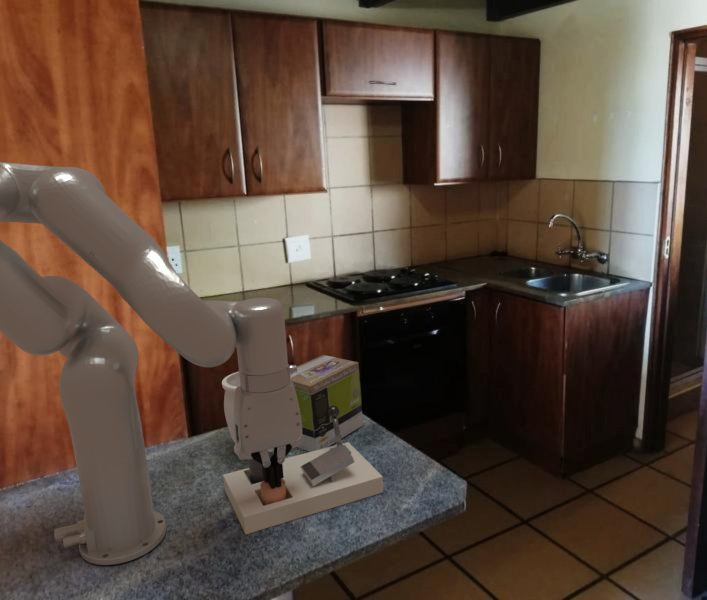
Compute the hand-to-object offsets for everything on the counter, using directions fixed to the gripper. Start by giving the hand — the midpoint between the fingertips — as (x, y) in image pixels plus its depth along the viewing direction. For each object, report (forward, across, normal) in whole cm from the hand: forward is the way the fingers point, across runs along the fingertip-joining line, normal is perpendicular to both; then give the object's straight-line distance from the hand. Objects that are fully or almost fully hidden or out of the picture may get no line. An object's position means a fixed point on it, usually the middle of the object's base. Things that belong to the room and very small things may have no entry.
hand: (273, 483), depth 95 cm
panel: (+5, -6, -3) cm, 8 cm away
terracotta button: (+4, 0, 0) cm, 5 cm away
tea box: (+5, -17, -21) cm, 27 cm away
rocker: (0, -10, -1) cm, 10 cm away
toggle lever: (+1, -15, -7) cm, 16 cm away
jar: (+5, -3, -22) cm, 23 cm away
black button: (+3, 0, -7) cm, 8 cm away
